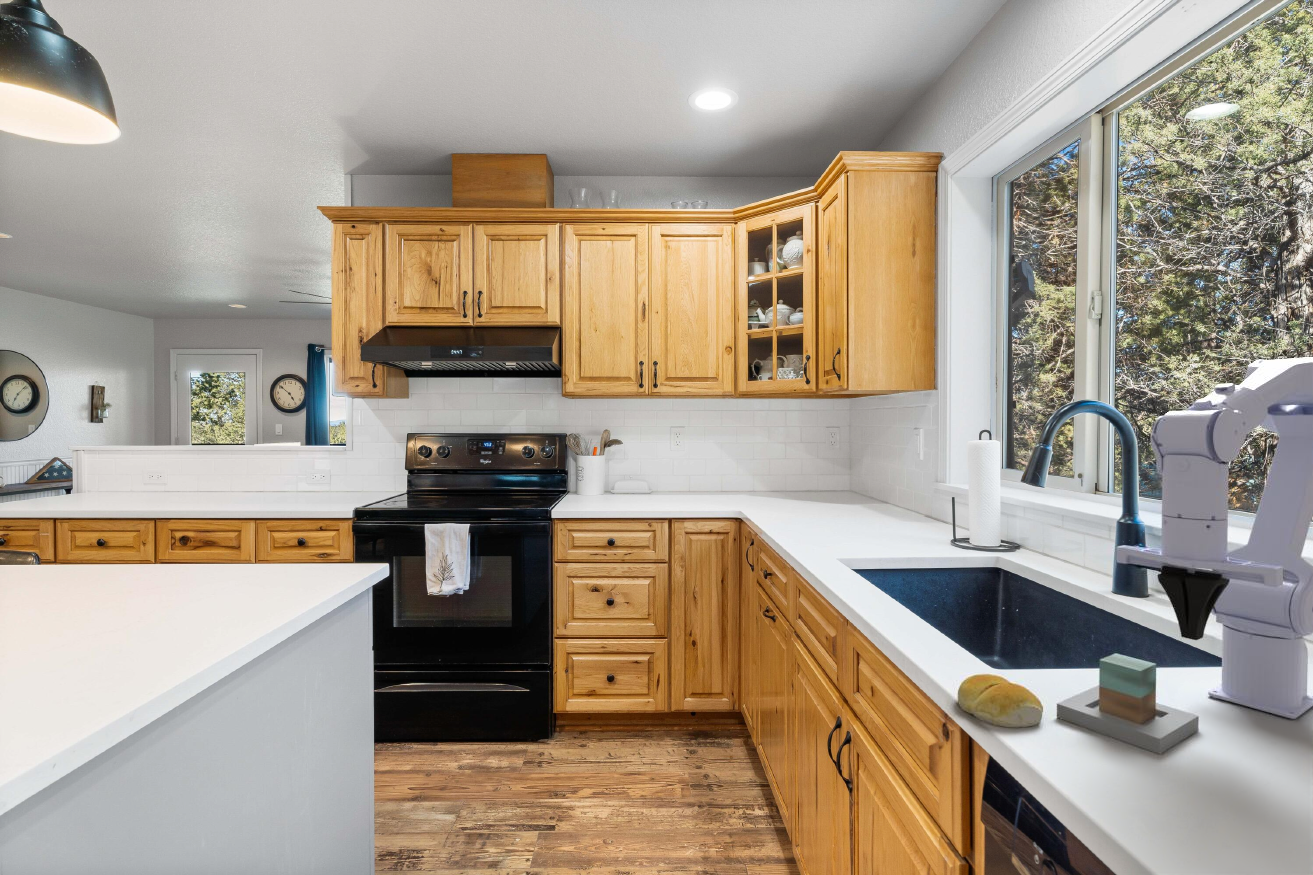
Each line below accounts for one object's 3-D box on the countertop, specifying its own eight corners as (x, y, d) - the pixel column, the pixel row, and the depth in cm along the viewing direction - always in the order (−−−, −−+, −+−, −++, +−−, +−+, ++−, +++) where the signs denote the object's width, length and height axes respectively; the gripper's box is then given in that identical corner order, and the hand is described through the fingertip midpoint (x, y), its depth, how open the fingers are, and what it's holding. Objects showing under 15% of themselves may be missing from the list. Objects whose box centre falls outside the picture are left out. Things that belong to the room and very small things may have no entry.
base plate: (1098, 697, 80) (1098, 685, 80) (1198, 729, 72) (1198, 715, 72) (1056, 717, 75) (1056, 703, 75) (1159, 754, 66) (1159, 738, 66)
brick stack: (1115, 703, 76) (1115, 653, 76) (1155, 716, 73) (1156, 663, 73) (1098, 711, 74) (1099, 659, 74) (1139, 725, 71) (1140, 670, 71)
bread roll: (997, 694, 82) (997, 662, 82) (1056, 725, 73) (1056, 690, 73) (940, 700, 80) (940, 668, 80) (994, 733, 71) (994, 697, 71)
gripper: (1104, 512, 77) (1103, 626, 77) (1267, 528, 64) (1265, 663, 65) (1131, 508, 81) (1130, 616, 81) (1290, 522, 68) (1288, 650, 68)
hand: (1192, 637), depth 73 cm, fingers closed
